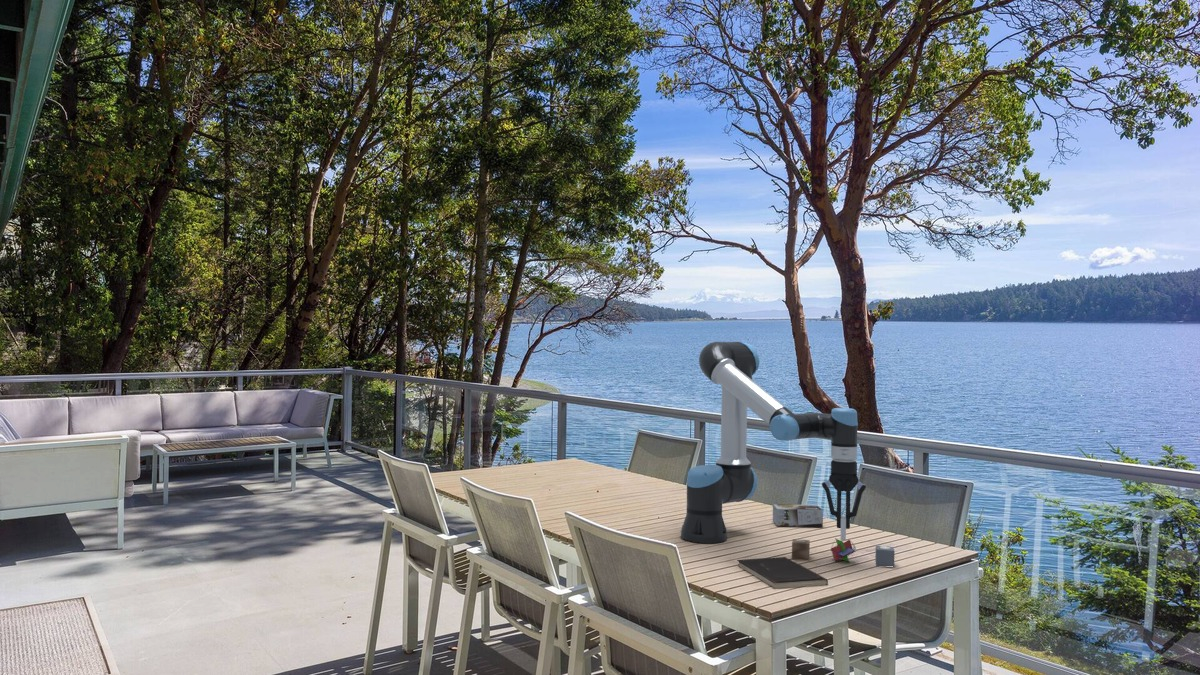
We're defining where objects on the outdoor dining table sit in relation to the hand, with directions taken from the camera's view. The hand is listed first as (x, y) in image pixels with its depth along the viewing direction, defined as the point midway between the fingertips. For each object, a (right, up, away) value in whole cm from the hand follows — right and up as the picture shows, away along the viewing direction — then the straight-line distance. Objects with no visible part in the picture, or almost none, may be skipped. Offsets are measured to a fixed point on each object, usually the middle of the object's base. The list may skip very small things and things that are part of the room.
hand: (843, 539), depth 253 cm
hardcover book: (-22, -7, -16) cm, 28 cm away
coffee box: (-10, -3, +50) cm, 51 cm away
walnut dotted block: (-12, -7, +3) cm, 14 cm away
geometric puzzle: (0, -7, 0) cm, 7 cm away
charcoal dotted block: (+11, -7, -3) cm, 14 cm away
